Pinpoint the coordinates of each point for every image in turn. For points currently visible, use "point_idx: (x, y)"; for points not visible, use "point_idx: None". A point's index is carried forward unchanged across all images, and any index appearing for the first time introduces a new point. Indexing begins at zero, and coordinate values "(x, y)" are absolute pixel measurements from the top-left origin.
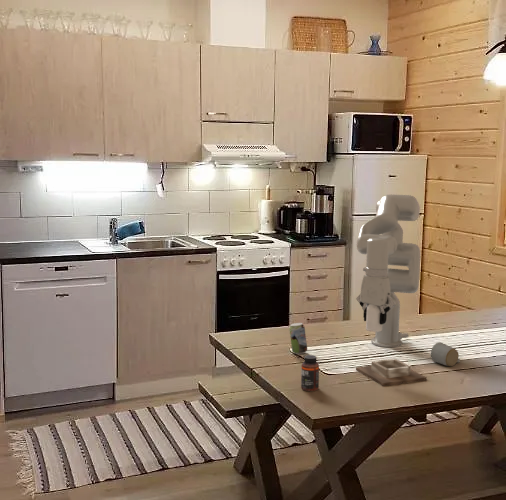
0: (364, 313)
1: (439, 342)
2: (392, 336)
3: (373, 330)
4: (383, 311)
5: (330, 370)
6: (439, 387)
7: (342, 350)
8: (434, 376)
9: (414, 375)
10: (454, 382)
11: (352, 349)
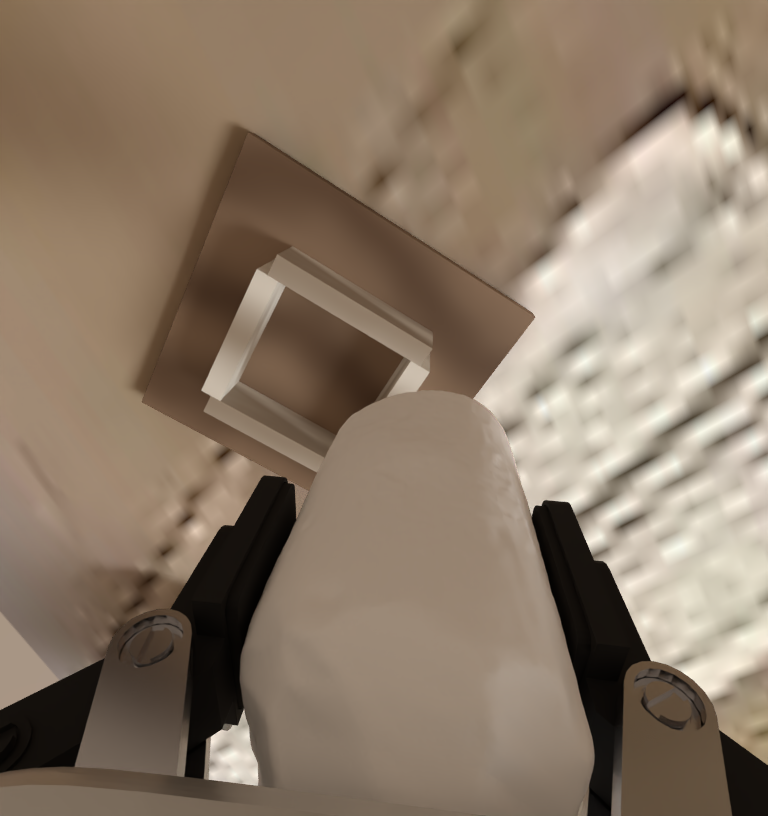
0: (598, 590)
1: (224, 724)
2: None
3: (381, 404)
4: (133, 655)
5: (687, 193)
6: (39, 332)
7: (727, 568)
8: (156, 464)
9: (198, 390)
10: (47, 440)
11: (678, 604)
